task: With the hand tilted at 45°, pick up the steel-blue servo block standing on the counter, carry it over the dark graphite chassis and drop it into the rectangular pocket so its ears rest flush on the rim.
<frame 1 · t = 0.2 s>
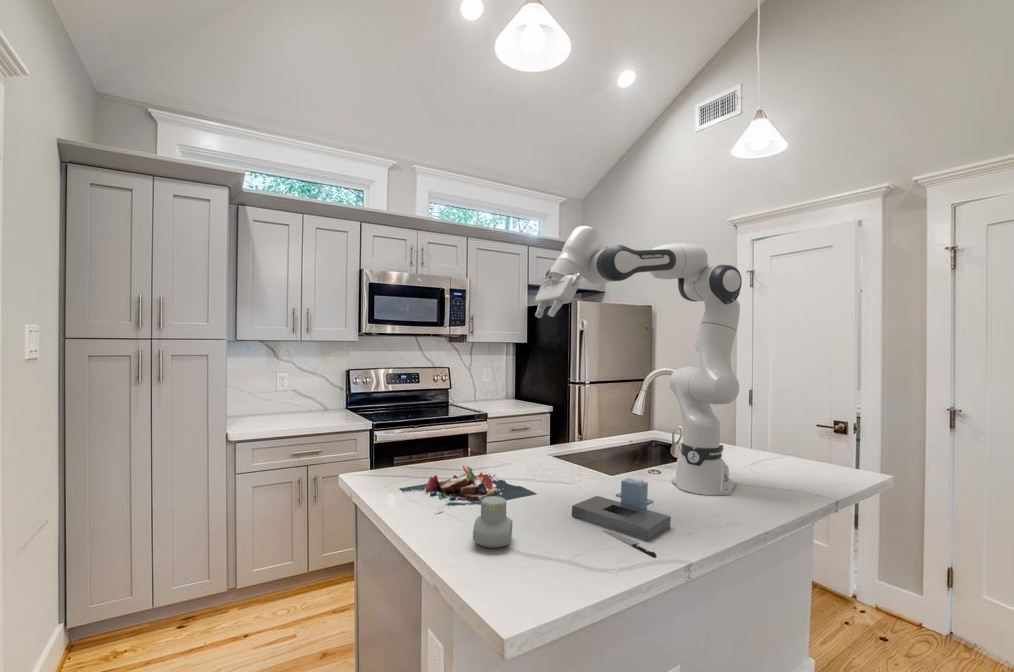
hand: (543, 316, 143), 54 cm above the countertop, tool tilted 30°, fingers open, 8 cm apart
servo: (633, 510, 139), on the countertop
chassis: (619, 522, 130), on the countertop
chef's knife: (627, 543, 118), on the countertop
air freshener: (492, 543, 115), on the countertop
platter: (466, 494, 152), on the countertop
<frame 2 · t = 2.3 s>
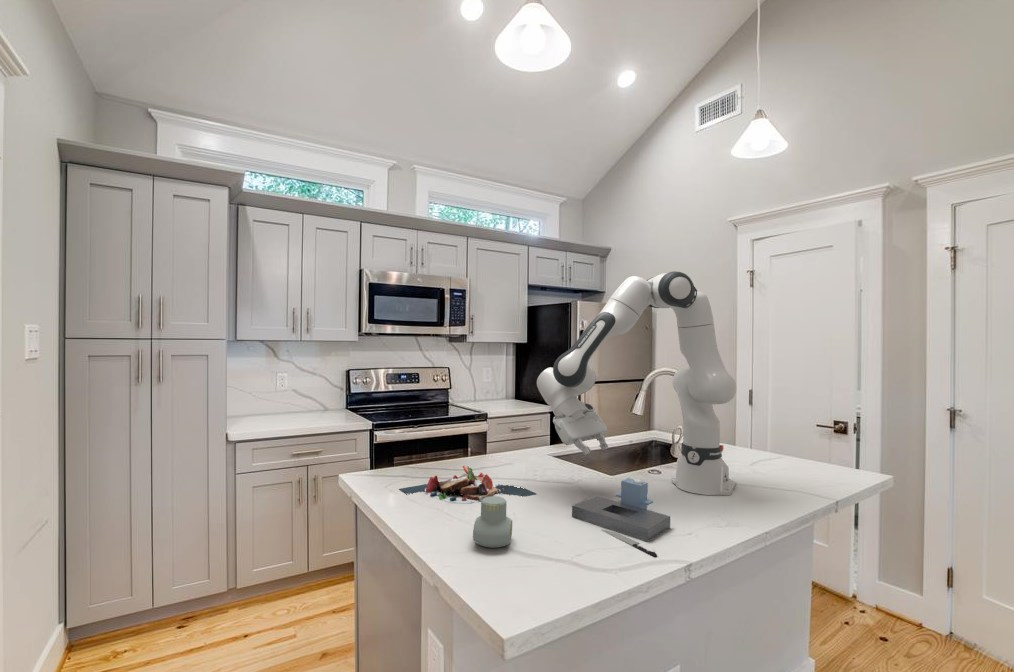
hand: (597, 450, 147), 14 cm above the countertop, tool tilted 45°, fingers open, 8 cm apart
nothing on the countertop moved.
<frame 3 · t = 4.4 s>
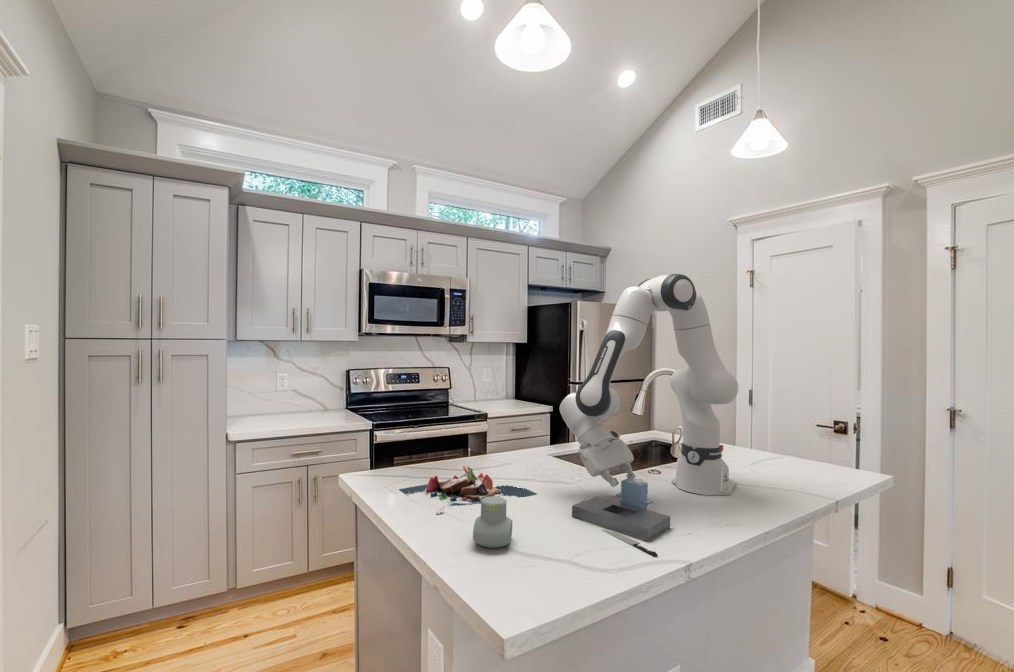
hand: (624, 482, 141), 7 cm above the countertop, tool tilted 45°, fingers open, 8 cm apart
nothing on the countertop moved.
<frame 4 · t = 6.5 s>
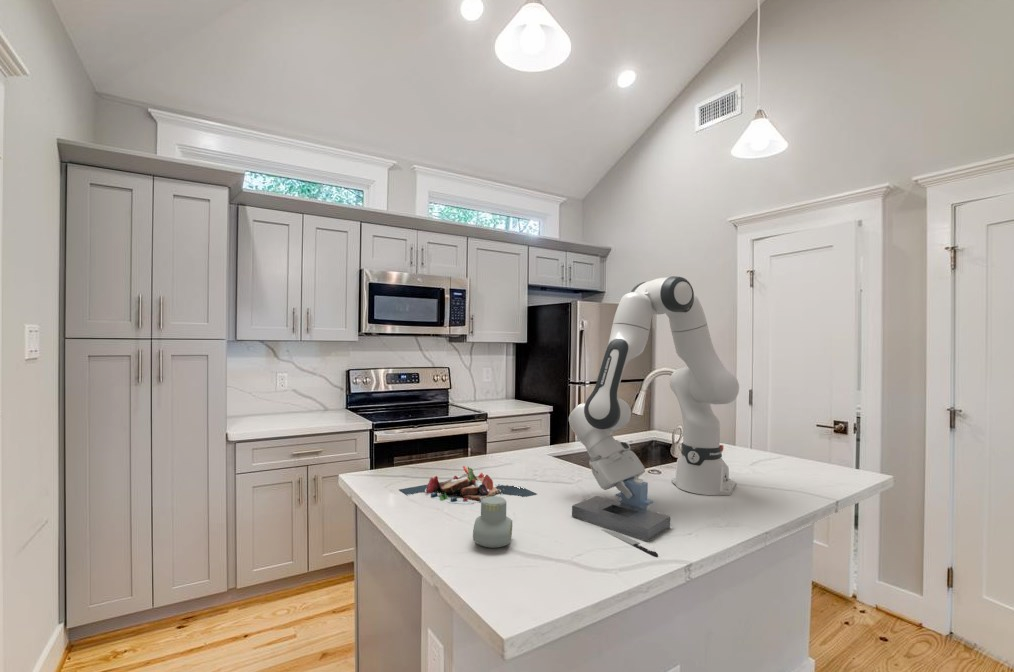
hand: (636, 494, 139), 4 cm above the countertop, tool tilted 45°, fingers closed on servo, 4 cm apart
servo: (633, 510, 139), on the countertop, touching gripper
everything else where it was.
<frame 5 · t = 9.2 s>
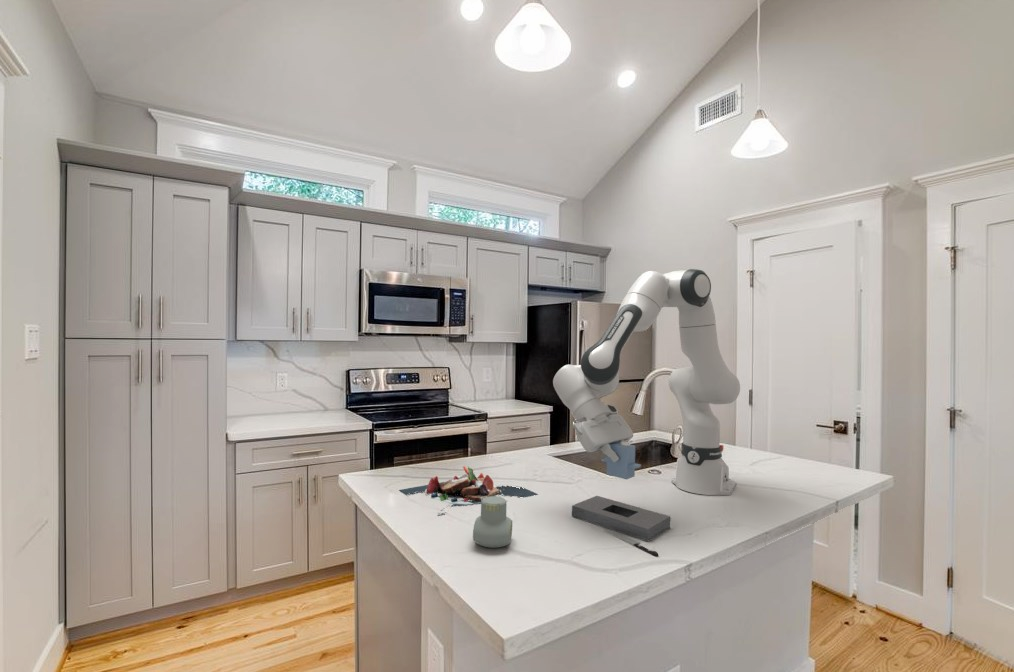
hand: (623, 459, 129), 17 cm above the countertop, tool tilted 45°, fingers closed on servo, 4 cm apart
servo: (620, 475, 130), point 12 cm above the countertop, touching gripper
everything else where it was.
when the fingers open (5 cm above the countertop, at t = 12.2 s): servo stays where it is, resting on chassis.
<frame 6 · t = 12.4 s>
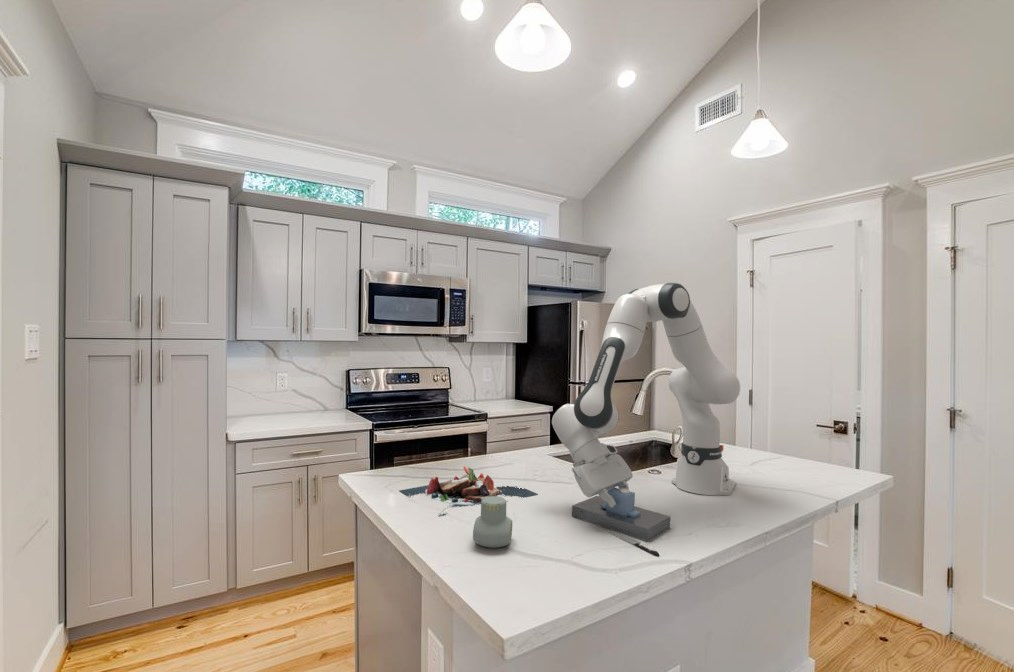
hand: (622, 502, 129), 5 cm above the countertop, tool tilted 45°, fingers open, 6 cm apart
servo: (619, 522, 130), resting on chassis
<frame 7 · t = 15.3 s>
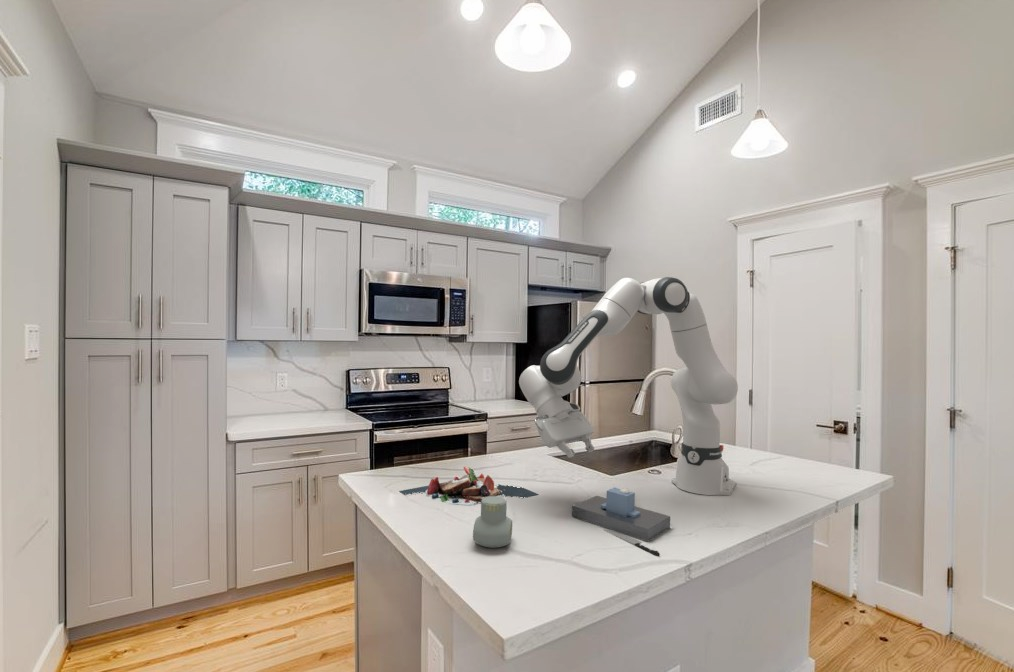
hand: (582, 453, 138), 16 cm above the countertop, tool tilted 45°, fingers open, 8 cm apart
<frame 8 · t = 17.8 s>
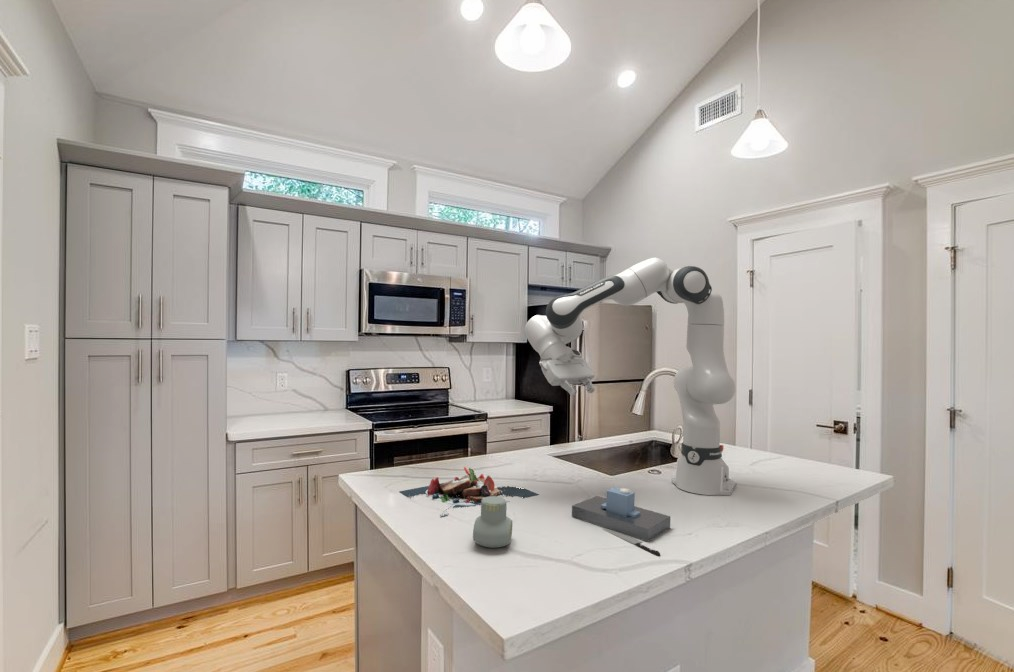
hand: (583, 392, 149), 31 cm above the countertop, tool tilted 45°, fingers open, 8 cm apart
at the end: servo 0.1 cm off-centre on the chassis, point 0.0 cm above the chassis's base; servo tilted 0°; the gripper is holding nothing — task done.
